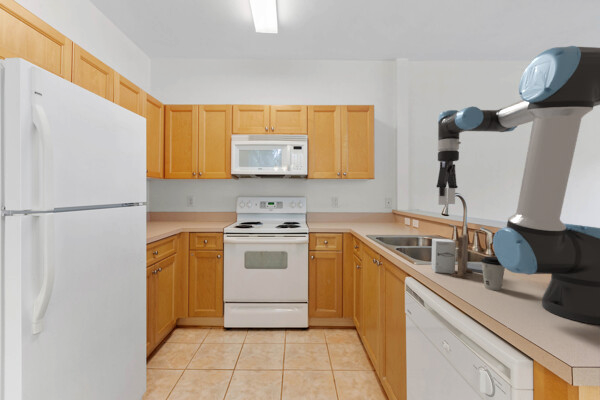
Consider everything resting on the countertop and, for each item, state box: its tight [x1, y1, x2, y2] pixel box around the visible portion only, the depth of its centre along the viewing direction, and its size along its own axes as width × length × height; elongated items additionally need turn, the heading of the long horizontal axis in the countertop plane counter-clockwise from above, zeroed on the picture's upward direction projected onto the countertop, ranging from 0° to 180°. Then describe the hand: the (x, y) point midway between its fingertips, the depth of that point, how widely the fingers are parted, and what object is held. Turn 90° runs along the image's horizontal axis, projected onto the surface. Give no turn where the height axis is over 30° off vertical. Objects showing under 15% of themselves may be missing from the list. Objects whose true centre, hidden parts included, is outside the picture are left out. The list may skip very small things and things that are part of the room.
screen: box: [451, 233, 474, 280], centre depth 112 cm, size 12×5×15 cm, turn 141°
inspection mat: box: [467, 262, 483, 274], centre depth 119 cm, size 10×10×1 cm
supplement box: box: [430, 238, 457, 275], centre depth 116 cm, size 7×7×13 cm
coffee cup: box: [480, 256, 506, 292], centre depth 96 cm, size 7×7×10 cm
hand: (447, 204), depth 116 cm, fingers open, 13 cm apart
